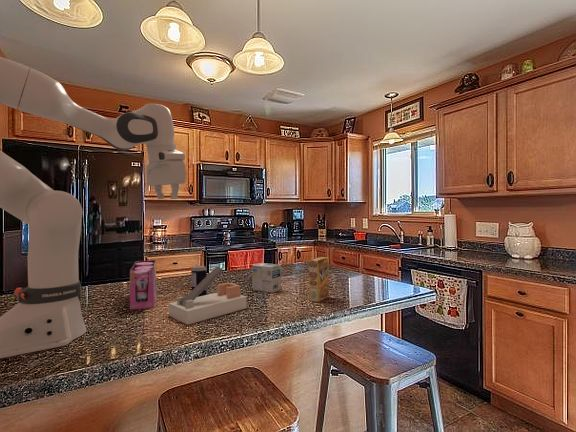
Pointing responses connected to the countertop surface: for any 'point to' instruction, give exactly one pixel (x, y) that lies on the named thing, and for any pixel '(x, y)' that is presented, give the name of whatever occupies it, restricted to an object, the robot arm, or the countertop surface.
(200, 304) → the hinged pedal on base
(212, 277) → the dark grey flat bar
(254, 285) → the light bulb box
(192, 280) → the beverage can
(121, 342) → the countertop surface
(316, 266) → the candy box
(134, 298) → the gum box
